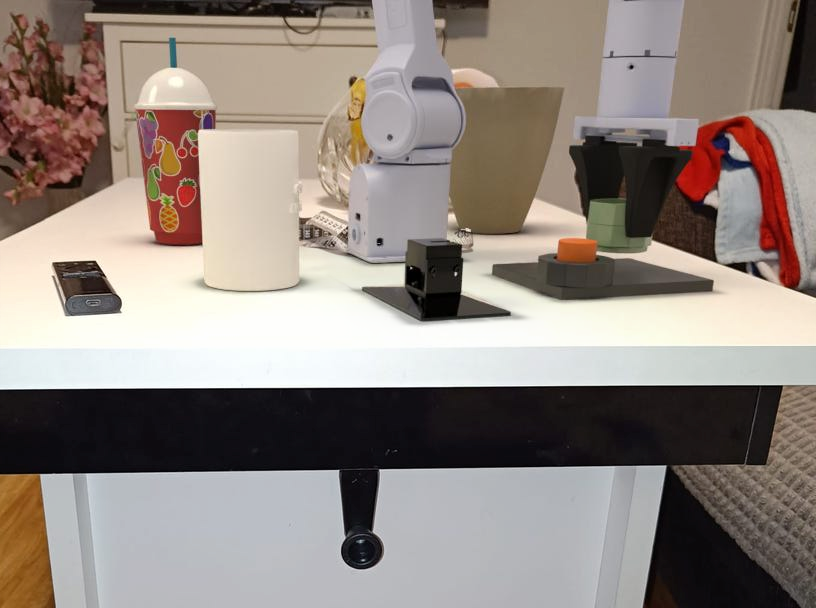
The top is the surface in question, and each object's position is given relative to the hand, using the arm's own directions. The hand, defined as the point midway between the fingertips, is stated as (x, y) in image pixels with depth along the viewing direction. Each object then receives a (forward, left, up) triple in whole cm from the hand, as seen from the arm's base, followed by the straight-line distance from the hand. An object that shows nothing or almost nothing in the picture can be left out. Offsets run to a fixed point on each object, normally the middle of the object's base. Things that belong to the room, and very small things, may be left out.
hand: (618, 232), depth 80 cm
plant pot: (+4, +34, -4) cm, 34 cm away
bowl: (0, 0, -1) cm, 1 cm away
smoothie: (-33, +33, -4) cm, 46 cm away
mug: (-31, +9, -4) cm, 32 cm away
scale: (-3, -1, -4) cm, 5 cm away
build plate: (-20, -5, -4) cm, 21 cm away
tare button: (-7, -5, -1) cm, 9 cm away
